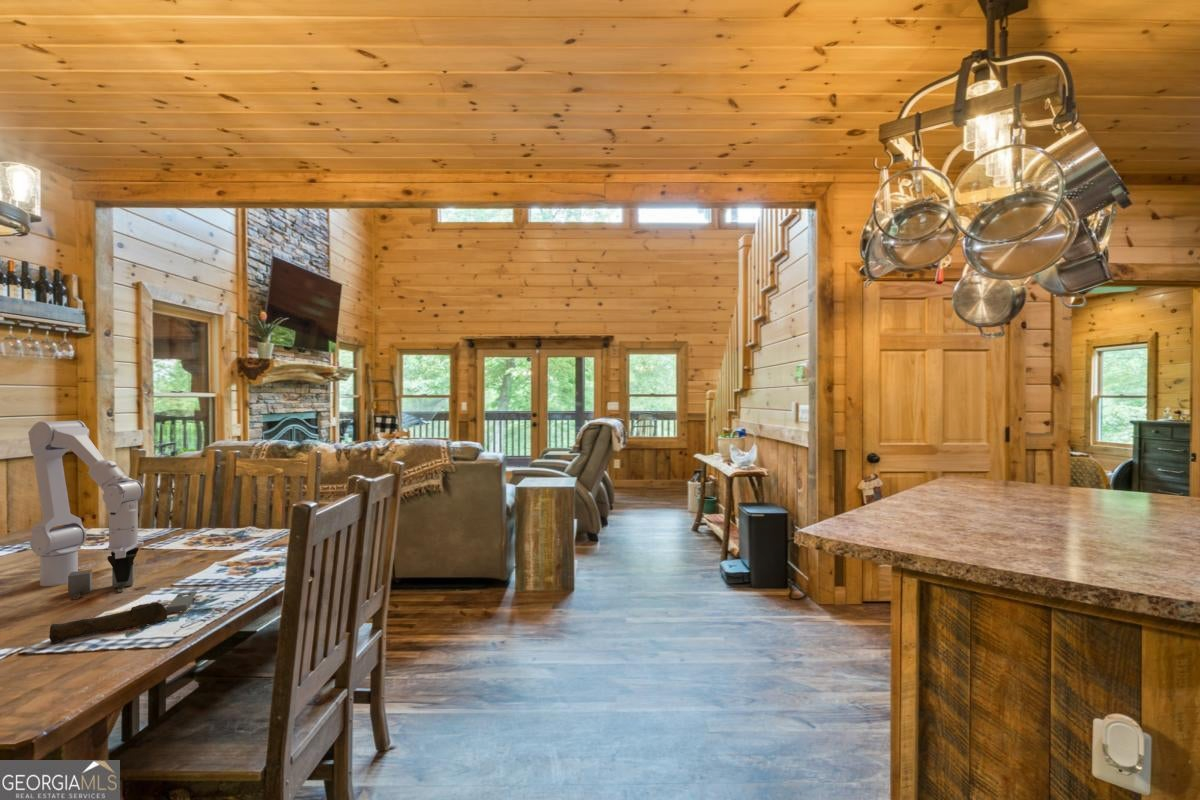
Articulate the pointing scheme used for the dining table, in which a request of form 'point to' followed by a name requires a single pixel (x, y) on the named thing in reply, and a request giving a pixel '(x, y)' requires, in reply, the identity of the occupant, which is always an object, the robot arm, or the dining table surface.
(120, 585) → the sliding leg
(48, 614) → the dining table surface
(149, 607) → the hand tool
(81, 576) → the fixed leg
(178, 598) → the bracket
